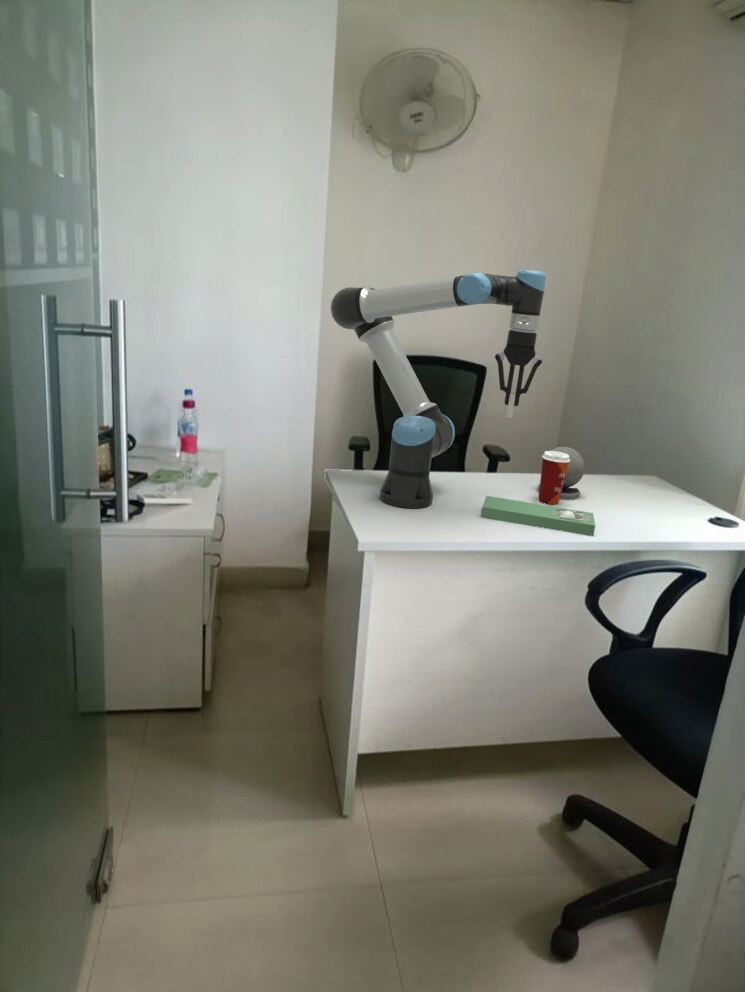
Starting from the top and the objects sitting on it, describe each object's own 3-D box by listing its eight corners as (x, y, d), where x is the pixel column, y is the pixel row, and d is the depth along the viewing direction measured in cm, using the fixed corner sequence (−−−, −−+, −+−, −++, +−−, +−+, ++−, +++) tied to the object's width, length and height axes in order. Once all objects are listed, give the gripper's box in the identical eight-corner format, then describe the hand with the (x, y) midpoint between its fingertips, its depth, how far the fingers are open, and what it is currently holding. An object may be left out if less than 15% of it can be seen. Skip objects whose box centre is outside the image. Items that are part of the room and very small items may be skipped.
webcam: (584, 493, 226) (593, 448, 221) (571, 502, 215) (581, 455, 211) (545, 484, 232) (553, 440, 227) (531, 492, 222) (539, 446, 217)
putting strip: (481, 517, 194) (482, 506, 193) (484, 505, 205) (486, 495, 204) (593, 536, 188) (595, 525, 187) (591, 522, 199) (593, 512, 198)
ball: (561, 512, 192) (576, 514, 191) (561, 507, 195) (576, 510, 195) (559, 525, 193) (574, 528, 192) (558, 520, 197) (573, 523, 196)
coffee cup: (562, 507, 209) (571, 459, 205) (534, 503, 211) (543, 455, 206) (561, 499, 217) (570, 452, 213) (534, 495, 219) (542, 448, 214)
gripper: (497, 328, 187) (484, 416, 195) (547, 334, 185) (532, 422, 192) (499, 327, 194) (487, 411, 202) (547, 332, 192) (533, 417, 199)
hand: (509, 416), depth 197 cm, fingers closed
